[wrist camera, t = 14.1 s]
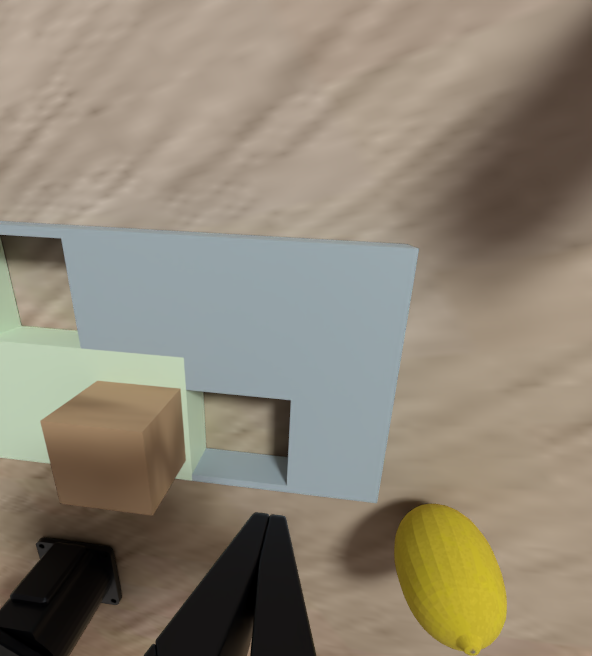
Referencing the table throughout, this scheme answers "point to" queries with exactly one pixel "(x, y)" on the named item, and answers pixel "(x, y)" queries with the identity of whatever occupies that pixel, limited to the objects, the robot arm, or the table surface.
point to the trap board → (222, 344)
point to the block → (116, 446)
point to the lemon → (450, 578)
